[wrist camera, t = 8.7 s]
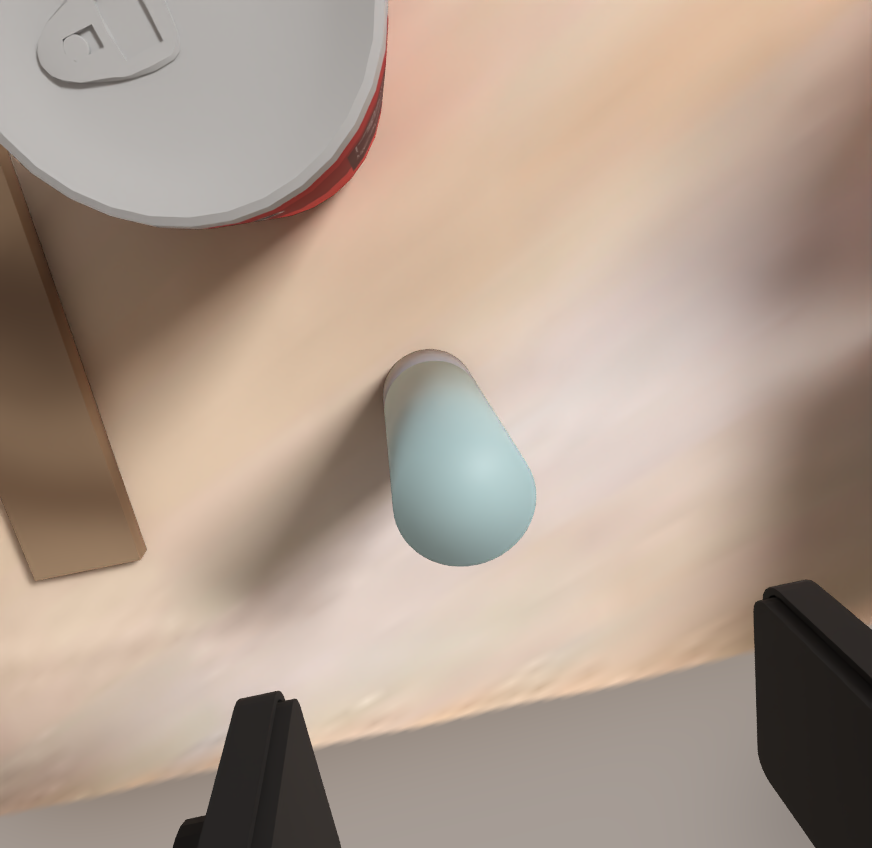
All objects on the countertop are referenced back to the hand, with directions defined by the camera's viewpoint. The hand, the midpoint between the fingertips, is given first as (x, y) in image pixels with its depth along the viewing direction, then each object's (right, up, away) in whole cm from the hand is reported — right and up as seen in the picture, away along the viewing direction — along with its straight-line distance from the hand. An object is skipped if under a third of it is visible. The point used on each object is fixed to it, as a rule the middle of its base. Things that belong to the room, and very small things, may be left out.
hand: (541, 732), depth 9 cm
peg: (-2, +5, +17) cm, 18 cm away
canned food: (-7, +15, +13) cm, 21 cm away
